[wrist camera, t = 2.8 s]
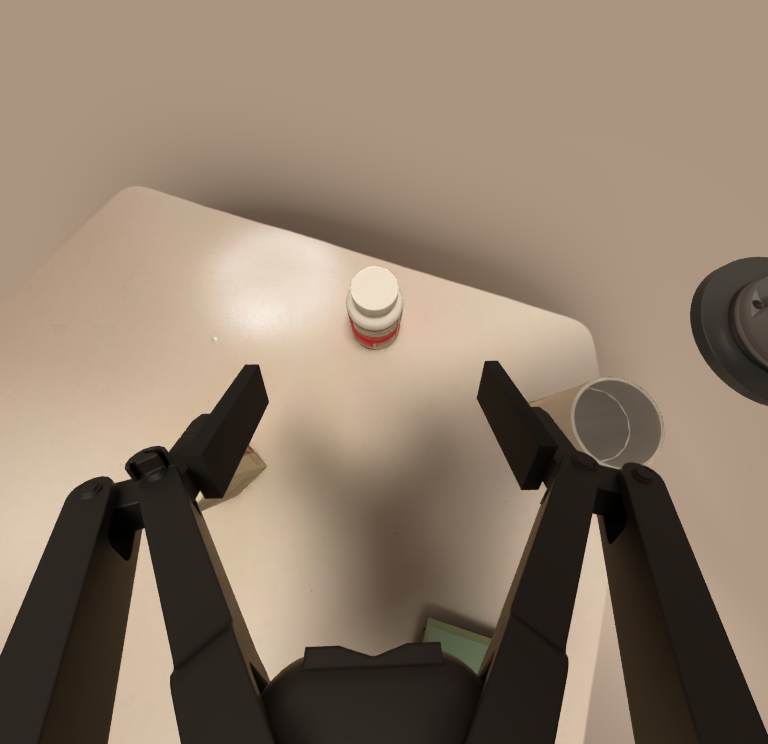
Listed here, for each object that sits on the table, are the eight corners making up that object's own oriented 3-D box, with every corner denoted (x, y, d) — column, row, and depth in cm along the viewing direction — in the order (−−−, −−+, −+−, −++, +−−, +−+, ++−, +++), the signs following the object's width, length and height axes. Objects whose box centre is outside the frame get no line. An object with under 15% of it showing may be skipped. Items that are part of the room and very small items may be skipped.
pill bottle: (367, 299, 40) (362, 248, 29) (406, 319, 39) (417, 276, 28) (344, 337, 38) (330, 298, 28) (384, 358, 38) (386, 328, 27)
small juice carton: (244, 439, 35) (192, 441, 26) (267, 466, 35) (223, 479, 25) (210, 471, 35) (142, 486, 25) (233, 499, 34) (173, 525, 24)
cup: (499, 406, 37) (555, 393, 25) (555, 386, 37) (636, 365, 26) (524, 468, 35) (597, 485, 24) (583, 447, 36) (682, 453, 24)
